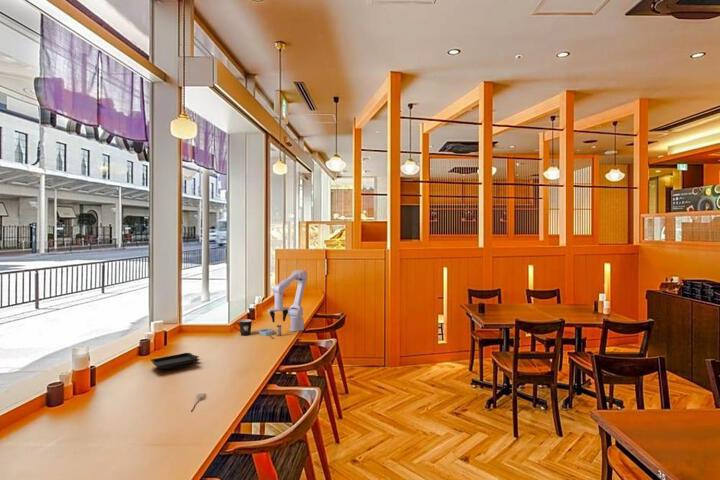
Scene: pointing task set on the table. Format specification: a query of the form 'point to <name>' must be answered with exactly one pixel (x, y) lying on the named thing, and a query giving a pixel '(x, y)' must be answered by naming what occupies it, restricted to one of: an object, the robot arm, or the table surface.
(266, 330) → the bead ring
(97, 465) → the table surface
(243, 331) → the coffee mug
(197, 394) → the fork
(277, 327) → the needle dowel
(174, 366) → the tray
